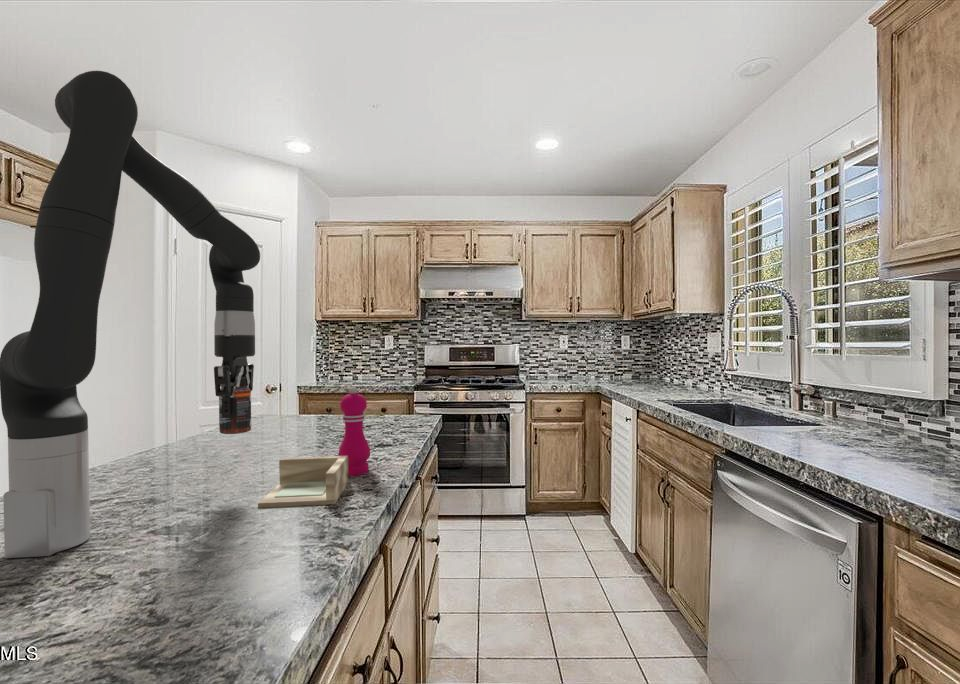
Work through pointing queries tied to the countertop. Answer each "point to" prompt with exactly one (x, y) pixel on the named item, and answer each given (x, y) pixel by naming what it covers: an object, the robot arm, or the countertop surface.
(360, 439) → the pepper mill
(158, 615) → the countertop surface
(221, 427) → the supplement bottle
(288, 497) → the tray
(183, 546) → the countertop surface
